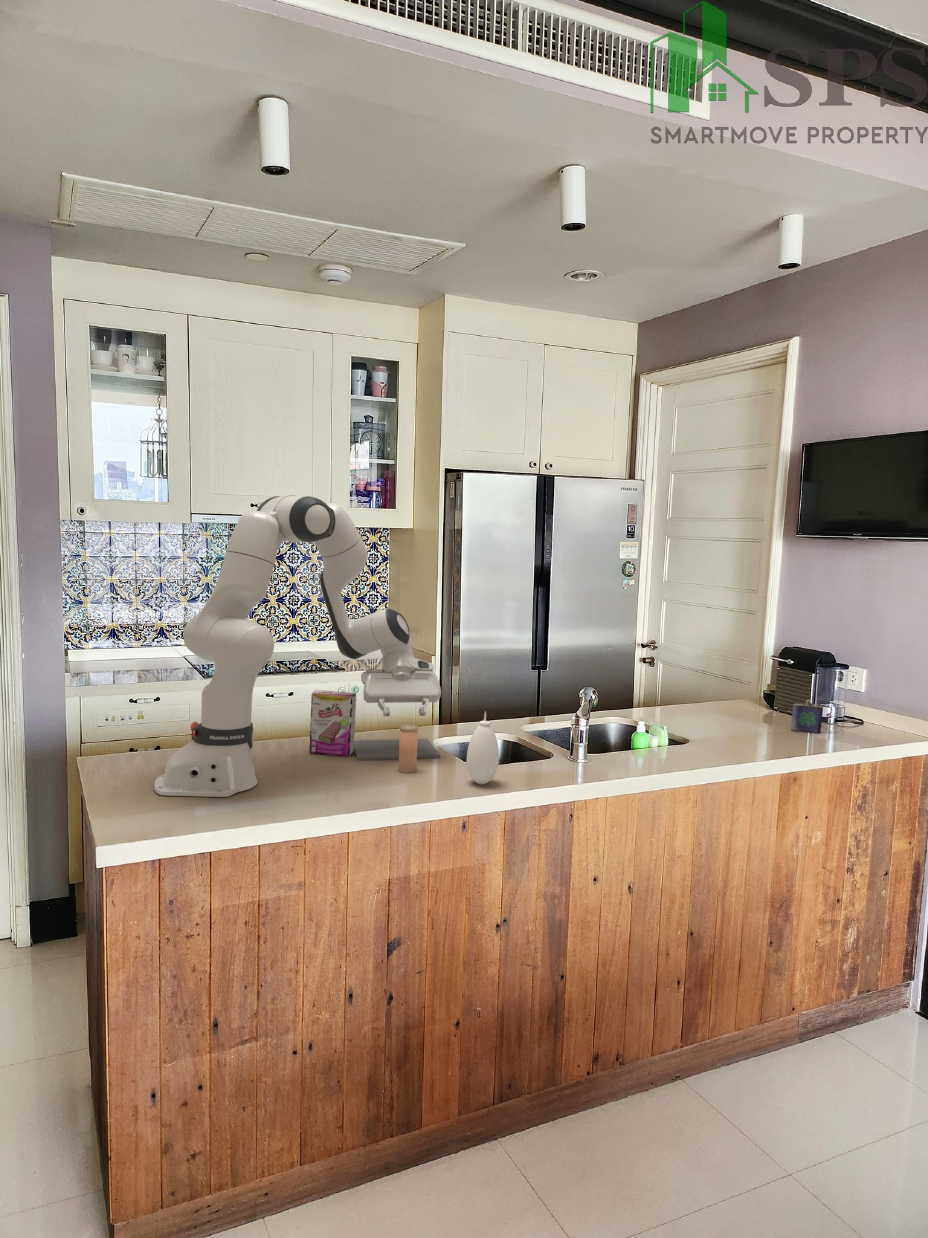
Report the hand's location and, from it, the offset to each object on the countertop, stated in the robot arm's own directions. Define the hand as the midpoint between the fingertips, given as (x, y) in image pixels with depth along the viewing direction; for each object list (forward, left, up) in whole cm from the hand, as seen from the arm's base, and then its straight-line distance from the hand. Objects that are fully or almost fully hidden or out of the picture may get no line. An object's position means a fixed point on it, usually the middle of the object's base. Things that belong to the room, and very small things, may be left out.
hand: (405, 715), depth 214 cm
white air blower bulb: (+16, -17, -13) cm, 27 cm away
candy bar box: (-17, +12, -13) cm, 24 cm away
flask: (+139, +23, -13) cm, 141 cm away
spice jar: (0, -5, -13) cm, 14 cm away
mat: (0, +13, -13) cm, 18 cm away
